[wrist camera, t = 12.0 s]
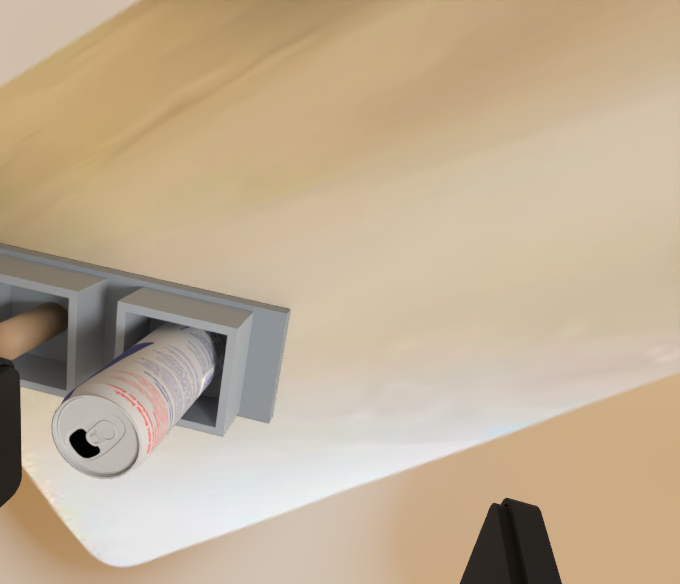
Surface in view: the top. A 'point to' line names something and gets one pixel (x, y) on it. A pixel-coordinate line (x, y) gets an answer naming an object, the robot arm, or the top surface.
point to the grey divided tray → (133, 331)
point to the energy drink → (136, 400)
